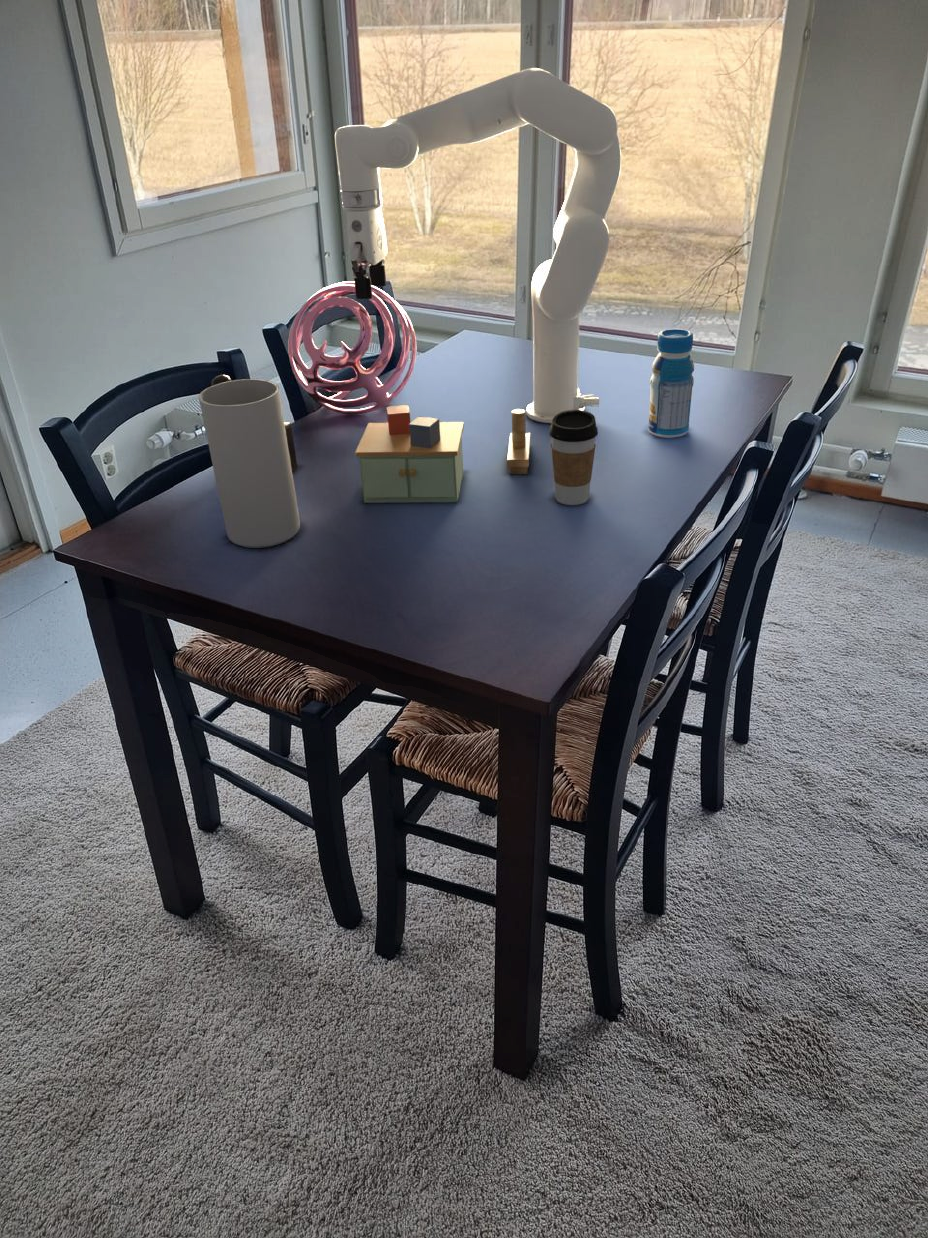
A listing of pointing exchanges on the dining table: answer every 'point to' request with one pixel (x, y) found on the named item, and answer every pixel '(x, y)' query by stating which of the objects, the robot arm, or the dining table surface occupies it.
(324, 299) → the pink openwork sphere
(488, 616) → the dining table surface
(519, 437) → the brush
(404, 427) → the terracotta block
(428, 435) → the slate block
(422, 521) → the dining table surface
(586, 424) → the coffee cup
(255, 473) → the cylinder vase
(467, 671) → the dining table surface
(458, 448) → the cabinet
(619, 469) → the dining table surface
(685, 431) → the beverage bottle
